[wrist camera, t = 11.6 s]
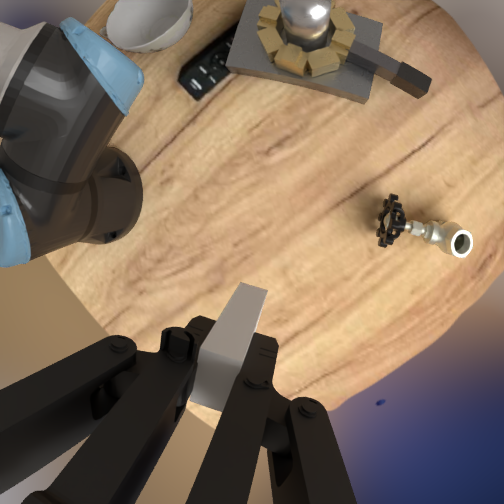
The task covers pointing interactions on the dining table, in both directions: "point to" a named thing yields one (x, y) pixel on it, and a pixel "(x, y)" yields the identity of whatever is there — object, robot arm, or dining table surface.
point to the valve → (422, 230)
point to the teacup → (148, 24)
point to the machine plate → (326, 82)
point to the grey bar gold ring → (335, 52)
